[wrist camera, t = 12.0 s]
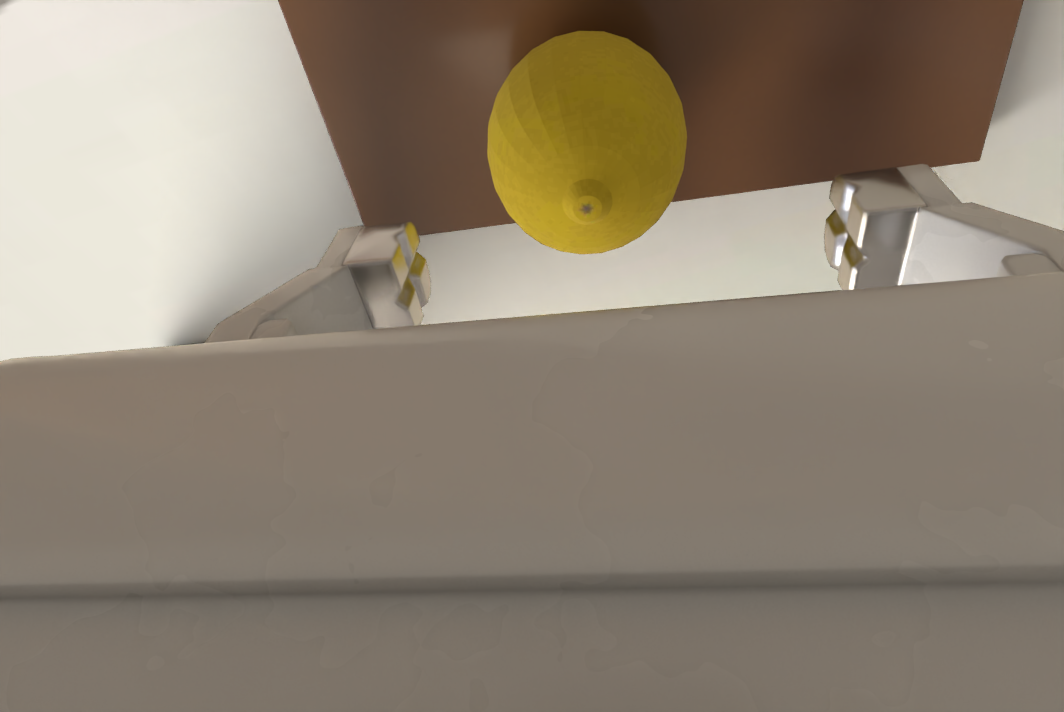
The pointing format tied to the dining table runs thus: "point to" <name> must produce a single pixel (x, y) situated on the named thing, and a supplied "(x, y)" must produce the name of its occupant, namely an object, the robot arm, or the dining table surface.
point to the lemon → (586, 142)
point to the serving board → (694, 68)
